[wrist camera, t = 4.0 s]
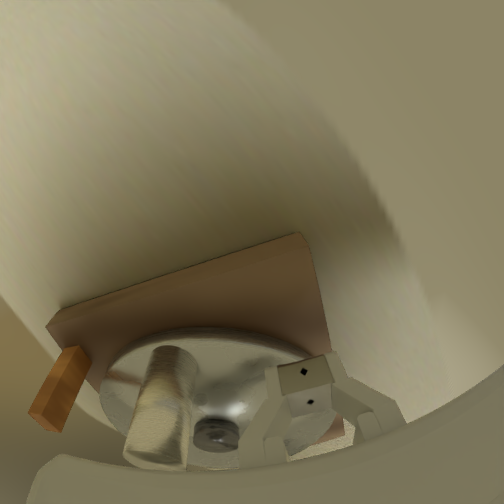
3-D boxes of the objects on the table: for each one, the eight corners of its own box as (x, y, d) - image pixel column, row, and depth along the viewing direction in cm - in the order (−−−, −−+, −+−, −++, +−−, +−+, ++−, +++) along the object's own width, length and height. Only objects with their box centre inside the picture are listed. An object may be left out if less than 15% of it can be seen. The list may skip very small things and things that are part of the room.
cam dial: (332, 436, 19) (350, 501, 13) (166, 457, 20) (159, 517, 13) (324, 292, 13) (386, 411, 6) (63, 340, 13) (14, 424, 7)
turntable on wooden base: (339, 419, 22) (361, 485, 14) (182, 449, 23) (177, 510, 15) (299, 231, 14) (361, 327, 7) (58, 310, 15) (2, 388, 8)
